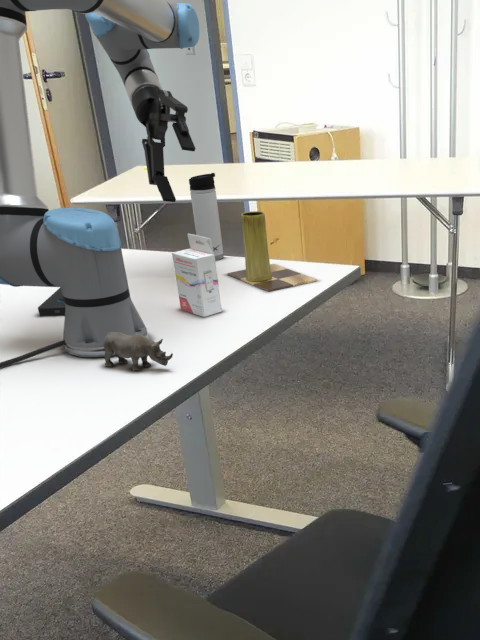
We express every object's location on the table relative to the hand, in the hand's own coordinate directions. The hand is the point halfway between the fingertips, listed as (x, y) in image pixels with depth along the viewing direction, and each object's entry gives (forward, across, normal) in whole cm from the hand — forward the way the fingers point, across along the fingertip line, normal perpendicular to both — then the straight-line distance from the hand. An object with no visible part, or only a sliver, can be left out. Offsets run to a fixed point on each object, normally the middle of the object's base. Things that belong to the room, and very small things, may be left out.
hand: (179, 175), depth 159 cm
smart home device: (+9, +29, +19) cm, 36 cm away
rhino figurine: (+48, -1, +23) cm, 53 cm away
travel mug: (-7, +31, -22) cm, 39 cm away
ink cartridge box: (+27, +10, +1) cm, 29 cm away
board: (+14, +14, -23) cm, 30 cm away
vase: (+14, +14, -20) cm, 28 cm away
